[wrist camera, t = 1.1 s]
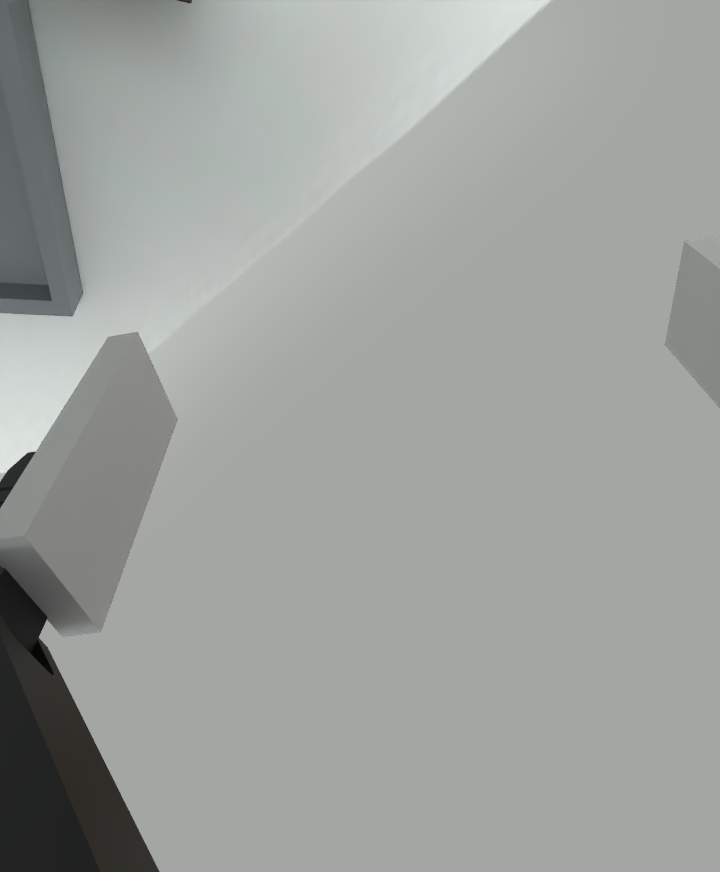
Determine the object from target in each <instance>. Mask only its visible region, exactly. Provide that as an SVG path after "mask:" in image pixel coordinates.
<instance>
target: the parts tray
mask: <svg viewBox="0 0 720 872" xmlns="http://www.w3.org/2000/svg"><path fill="white" fill-rule="evenodd" d="M82 294H83V292H82V287H81V281H80V276H79V271H78V265H77V260H76V255H75V249H74V244H73V239H72V234H71V228H70V223H69V218H68V212H67V207H66V202H65V196H64V191H63V186H62V180H61V175H60V170H59V165H58V159H57V154H56V149H55V143H54V138H53V133H52V127H51V122H50V117H49V112H48V106H47V101H46V96H45V90H44V85H43V80H42V74H41V69H40V64H39V59H38V53H37V48H36V43H35V37H34V32H33V27H32V21H31V16H30V11H29V6H28V0H0V313H13V314H34V315H55V316H73V314H74V312H75V310H76V308H77V305H78V303H79V301H80V299H81V296H82Z"/></svg>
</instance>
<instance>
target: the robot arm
mask: <svg viewBox="0 0 720 872" xmlns="http://www.w3.org/2000/svg"><path fill="white" fill-rule="evenodd" d="M665 345H666V347H667V348H668V349H669V350H670V351H671V352H672V354H673V355H674V356H675V357H676V358H677V359H678V360H679V362H680V363H681V364H682V365H683V366H684V368H685V369H686V370H687V371H688V372H689V373H690V374H691V376H692V377H693V378H694V379H695V380H696V381H697V382H698V384H699V385H700V386H701V387H702V388H703V389H704V391H705V392H706V393H707V394H708V395H709V396H710V398H711V399H712V400H713V401H714V402H715V403H716V404H717V405H718V407H719V408H720V236H719V235H717V236H711V237H705V238H699V239H693V240H687V241H684V246H683V251H682V256H681V262H680V267H679V272H678V278H677V283H676V288H675V294H674V299H673V304H672V309H671V315H670V320H669V325H668V331H667V336H666V341H665ZM176 423H177V417H176V415H175V412H174V410H173V408H172V406H171V404H170V401H169V399H168V397H167V395H166V393H165V390H164V388H163V386H162V384H161V382H160V379H159V377H158V375H157V373H156V371H155V369H154V366H153V364H152V362H151V360H150V358H149V355H148V353H147V351H146V349H145V347H144V344H143V342H142V340H141V338H140V336H139V334H138V332H135V333H129V334H123V335H117V336H111V337H108V338H107V340H106V341H105V343H104V345H103V346H102V348H101V349H100V351H99V353H98V354H97V356H96V357H95V359H94V360H93V362H92V364H91V365H90V367H89V368H88V370H87V372H86V373H85V375H84V376H83V378H82V380H81V381H80V383H79V384H78V386H77V387H76V389H75V391H74V392H73V394H72V395H71V397H70V399H69V400H68V402H67V403H66V405H65V406H64V408H63V410H62V411H61V413H60V414H59V416H58V418H57V419H56V421H55V422H54V424H53V425H52V427H51V429H50V430H49V432H48V433H47V435H46V437H45V438H44V440H43V441H42V443H41V445H40V446H39V448H38V449H37V451H36V452H30V453H27V454H26V455H25V456H24V457H23V458H21V459H20V460H19V461H18V462H17V463H16V464H15V465H13V466H12V467H11V468H10V469H9V470H8V471H7V473H6V474H5V476H4V477H3V479H2V480H1V482H0V872H159V870H158V868H157V866H156V864H155V862H154V860H153V858H152V856H151V854H150V852H149V850H148V848H147V846H146V844H145V842H144V840H143V838H142V836H141V834H140V832H139V830H138V828H137V826H136V824H135V822H134V820H133V818H132V816H131V814H130V812H129V810H128V808H127V806H126V804H125V802H124V800H123V798H122V796H121V794H120V792H119V790H118V788H117V786H116V784H115V782H114V780H113V778H112V776H111V774H110V772H109V770H108V768H107V766H106V764H105V762H104V760H103V758H102V756H101V754H100V752H99V750H98V748H97V746H96V744H95V742H94V740H93V738H92V736H91V734H90V732H89V730H88V728H87V726H86V724H85V722H84V720H83V718H82V716H81V714H80V712H79V710H78V708H77V706H76V704H75V702H74V700H73V698H72V696H71V694H70V692H69V690H68V688H67V686H66V684H65V682H64V680H63V678H62V676H61V674H60V672H59V670H58V668H57V666H56V663H55V662H54V660H53V658H52V655H51V653H50V651H49V650H48V647H47V646H46V645H45V644H44V643H43V642H42V641H41V640H40V639H39V635H40V633H41V631H42V629H43V626H44V624H45V622H46V620H48V621H49V622H50V623H51V624H52V625H53V627H54V628H55V629H56V630H57V631H58V632H59V634H60V635H61V636H62V637H66V636H74V635H82V634H90V633H97V632H101V630H102V628H103V625H104V622H105V619H106V616H107V614H108V611H109V608H110V605H111V603H112V600H113V597H114V594H115V591H116V589H117V586H118V583H119V581H120V578H121V575H122V572H123V569H124V567H125V564H126V561H127V558H128V556H129V553H130V550H131V547H132V544H133V542H134V539H135V536H136V533H137V531H138V528H139V525H140V522H141V520H142V517H143V514H144V511H145V508H146V506H147V503H148V500H149V497H150V495H151V492H152V489H153V486H154V484H155V481H156V478H157V475H158V472H159V470H160V467H161V464H162V461H163V459H164V456H165V453H166V450H167V448H168V445H169V442H170V439H171V436H172V434H173V431H174V428H175V425H176Z"/></svg>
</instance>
